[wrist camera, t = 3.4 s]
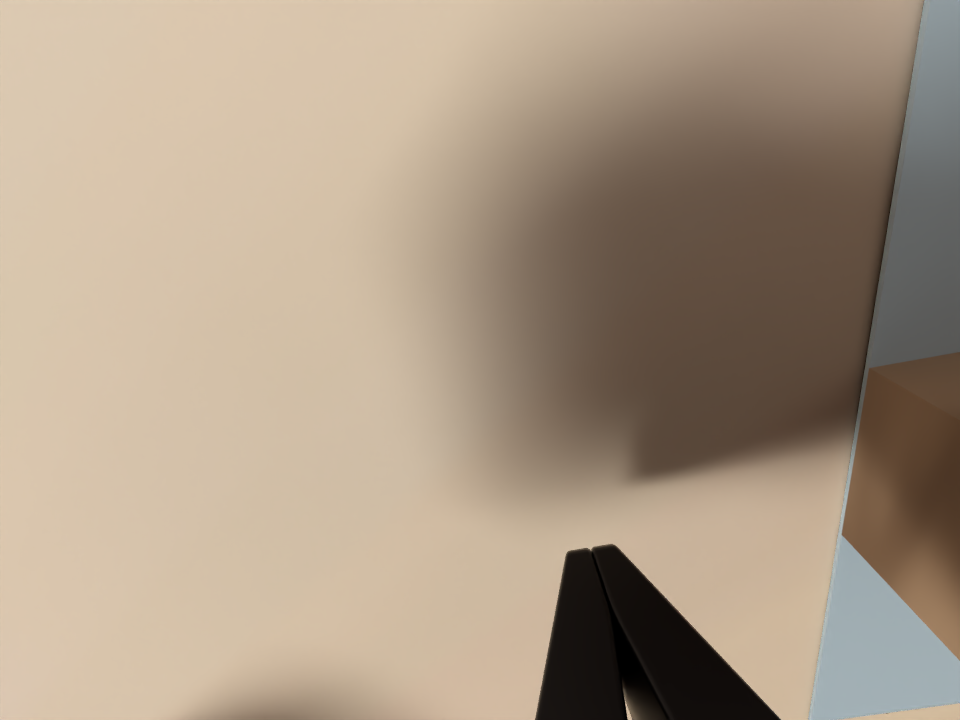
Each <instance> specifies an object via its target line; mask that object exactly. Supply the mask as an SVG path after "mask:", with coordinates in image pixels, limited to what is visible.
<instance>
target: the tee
mask: <svg viewBox="0 0 960 720" xmlns="http://www.w3.org/2000/svg"><path fill="white" fill-rule="evenodd" d="M841 535H842V536H843V537H844V538H845V539H846V540H847V541H848V542H849V543H850V544H851V545H852V546H853V547H854V549H855V550H856V551H857V552H858V553H859V554H860V555H861V556H862V557H863V558H864V559H865V560H866V561H867V562H868V563H869V565H870V566H871V567H872V568H873V569H874V570H875V571H876V572H877V573H878V574H879V575H880V576H881V577H882V578H883V579H884V581H885V582H886V583H887V584H888V585H889V586H890V587H891V588H892V589H893V590H894V591H895V592H896V593H897V594H898V596H899V597H900V598H901V599H902V600H903V601H904V602H905V603H906V604H907V605H908V606H909V607H910V608H911V609H912V610H913V612H914V613H915V614H916V615H917V616H918V617H919V618H920V619H921V620H922V621H923V622H924V623H925V624H926V625H927V626H928V628H929V629H930V630H931V631H932V632H933V633H934V634H935V635H936V636H937V637H938V638H939V639H940V640H941V641H942V642H943V644H944V645H945V646H946V647H947V648H948V649H949V650H950V651H951V652H952V653H953V654H954V655H955V656H956V657H957V659H958V660H959V661H960V352H957V353H951V354H945V355H940V356H934V357H929V358H923V359H917V360H912V361H906V362H900V363H895V364H889V365H883V366H878V367H872V368H869V372H868V378H867V384H866V390H865V396H864V402H863V408H862V414H861V420H860V426H859V432H858V438H857V444H856V450H855V456H854V462H853V468H852V474H851V480H850V486H849V492H848V498H847V504H846V510H845V516H844V522H843V528H842V534H841Z"/></svg>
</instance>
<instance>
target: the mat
mask: <svg viewBox="0 0 960 720" xmlns="http://www.w3.org/2000/svg"><path fill="white" fill-rule="evenodd" d="M957 352H960V0H924V5H923V11H922V17H921V23H920V29H919V36H918V42H917V48H916V54H915V60H914V67H913V73H912V79H911V85H910V91H909V98H908V104H907V110H906V116H905V122H904V129H903V135H902V141H901V147H900V154H899V160H898V166H897V172H896V178H895V185H894V191H893V197H892V203H891V209H890V216H889V222H888V228H887V234H886V240H885V247H884V253H883V259H882V265H881V271H880V278H879V284H878V290H877V296H876V302H875V309H874V315H873V321H872V327H871V333H870V340H869V346H868V352H867V358H866V365H865V371H864V377H863V383H862V389H861V396H860V402H859V408H858V414H857V420H856V427H855V433H854V439H853V445H852V451H851V458H850V464H849V470H848V476H847V482H846V489H845V495H844V501H843V507H842V513H841V520H840V526H839V532H838V538H837V545H836V551H835V557H834V563H833V569H832V576H831V582H830V588H829V594H828V600H827V607H826V613H825V619H824V625H823V631H822V638H821V644H820V650H819V656H818V662H817V669H816V675H815V681H814V687H813V693H812V700H811V706H810V712H809V718H808V719H809V720H838V719H845V718H853V717H860V716H868V715H875V714H883V713H890V712H898V711H905V710H912V709H920V708H927V707H935V706H942V705H950V704H957V703H960V661H959V660H958V659H957V657H956V656H955V655H954V654H953V653H952V652H951V651H950V650H949V649H948V648H947V647H946V646H945V645H944V644H943V642H942V641H941V640H940V639H939V638H938V637H937V636H936V635H935V634H934V633H933V632H932V631H931V630H930V629H929V628H928V626H927V625H926V624H925V623H924V622H923V621H922V620H921V619H920V618H919V617H918V616H917V615H916V614H915V613H914V612H913V610H912V609H911V608H910V607H909V606H908V605H907V604H906V603H905V602H904V601H903V600H902V599H901V598H900V597H899V596H898V594H897V593H896V592H895V591H894V590H893V589H892V588H891V587H890V586H889V585H888V584H887V583H886V582H885V581H884V579H883V578H882V577H881V576H880V575H879V574H878V573H877V572H876V571H875V570H874V569H873V568H872V567H871V566H870V565H869V563H868V562H867V561H866V560H865V559H864V558H863V557H862V556H861V555H860V554H859V553H858V552H857V551H856V550H855V549H854V547H853V546H852V545H851V544H850V543H849V542H848V541H847V540H846V539H845V538H844V537H843V536H842V535H841V534H842V528H843V522H844V516H845V510H846V504H847V498H848V492H849V486H850V480H851V474H852V468H853V462H854V456H855V450H856V444H857V438H858V432H859V426H860V420H861V414H862V408H863V402H864V396H865V390H866V384H867V378H868V372H869V368H872V367H878V366H883V365H889V364H895V363H900V362H906V361H912V360H917V359H923V358H929V357H934V356H940V355H945V354H951V353H957Z"/></svg>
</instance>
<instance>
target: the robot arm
mask: <svg viewBox="0 0 960 720" xmlns="http://www.w3.org/2000/svg"><path fill="white" fill-rule="evenodd" d="M624 697H625V700H626V703H627V706H628V709H629V711H630V714H631V717H632V720H781V719H780V718H779V717H778V716H777V715H776V714H775V713H774V712H773V711H772V710H771V709H770V708H769V707H768V705H767V704H766V703H765V702H764V701H763V700H762V699H761V698H760V697H759V696H758V695H757V694H756V693H755V692H754V691H753V690H752V689H751V688H750V686H749V685H748V684H747V683H746V682H745V681H744V680H743V679H742V678H741V677H740V676H739V675H738V674H737V673H736V672H735V671H734V670H733V669H732V667H731V666H730V665H729V664H728V663H727V662H726V661H725V660H724V659H723V658H722V657H721V656H720V655H719V654H718V653H717V652H716V651H715V650H714V648H713V647H712V646H711V645H710V644H709V643H708V642H707V641H706V640H705V639H704V638H703V637H702V636H701V635H700V634H699V633H698V632H697V631H696V629H695V628H694V627H693V626H692V625H691V624H690V623H689V622H688V621H687V620H686V619H685V618H684V617H683V616H682V615H681V614H680V613H679V612H678V610H677V609H676V608H675V607H674V606H673V605H672V604H671V603H670V602H669V601H668V600H667V599H666V598H665V597H664V596H663V595H662V594H661V593H660V591H659V590H658V589H657V588H656V587H655V586H654V585H653V584H652V583H651V582H650V581H649V580H648V579H647V578H646V577H645V576H644V575H643V574H642V572H641V571H640V570H639V569H638V568H637V567H636V566H635V565H634V564H633V563H632V562H631V561H630V560H629V559H628V558H627V557H626V556H625V555H624V553H623V552H622V551H621V550H620V549H619V548H618V547H617V546H615V545H613V544H608V545H602V546H596V547H593V548H592V550H591V551H590V549H588V548H583V549H577V550H571V551H568V552H567V554H566V557H565V562H564V568H563V573H562V579H561V584H560V589H559V595H558V600H557V605H556V611H555V616H554V622H553V627H552V632H551V638H550V643H549V648H548V654H547V659H546V665H545V670H544V675H543V681H542V686H541V691H540V697H539V702H538V708H537V713H536V718H535V720H627V713H626V706H625V700H624Z"/></svg>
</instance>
